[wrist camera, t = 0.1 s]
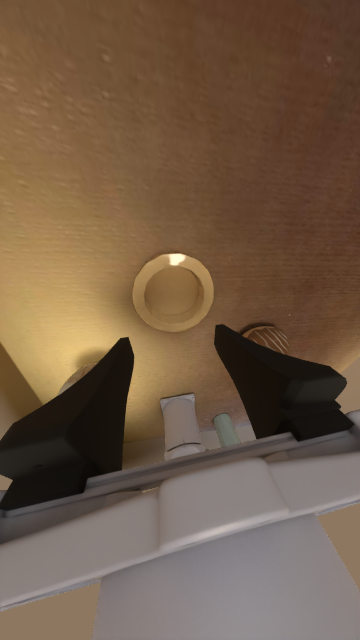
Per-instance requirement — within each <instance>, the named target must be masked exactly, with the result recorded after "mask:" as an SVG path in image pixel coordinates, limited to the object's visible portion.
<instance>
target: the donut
mask: <svg viewBox="0 0 360 640" xmlns="http://www.w3.org/2000/svg"><path fill="white" fill-rule="evenodd" d="M242 336H244V337H246V338H248V339H249V340H251V341H253V342H255V343H257V344H260V345H262V346H264V347H266V348H269V349H271V350H274V351H277V352H279V353H282V354H285V355H287V354H288V349H289V342H288V339H287V337H286V335H285V333H284V332H283V331H282V330H280V329H278V328H274V327H270V326H261V327H256V328H253V329H251V330H249V331H247V332H245V333H244V334H243V335H242Z"/></svg>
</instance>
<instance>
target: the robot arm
mask: <svg viewBox="0 0 360 640" xmlns="http://www.w3.org/2000/svg"><path fill="white" fill-rule="evenodd" d="M214 345H215V348H216V350H217V352H218V355H219V357H220V358H221V360H222V362H223V364H224V365H225V367H226V369H227V371H228V372H229V374H230V376H231V378H232V380H233V381H234V384H235V386H236V388H237V390H238V393H239V395H240V397H241V400H242V402H243V404H244V407H245V410H246V412H247V415H248V417H249V420H250V422H251V425H252V428H253V431H254V433H255V436H256V439H257V440H253V441H248V442H244V443H239V444H235V445H230V446H226V447H222V448H217V449H213V450H208V449H207V450H205V445H204V444H202V440H201V436H200V431H199V427H198V423H197V418H196V414H195V395H194V394H187V395H182V396H176V397H171V398H165V399H161V400H160V404H161V408H162V413H163V417H164V426H165V445H166V452H165V459H163V460H161V462H156V463H152V464H148V465H143V466H139V467H135V468H130V469H126V470H122V454H123V438H124V425H125V413H126V404H127V397H128V392H129V387H130V382H131V377H132V372H133V367H134V354H133V350H132V347H131V344H130V340H129V337H125V338H120V339H119V340H118V342H117V343H116V344H115V345H114V346H113V347H112V348H111V350H110V351H109V352H108V353H107V354H106V355H105V356H104V357H103V358H102V359H101V360H100V361H99V362H98V363H97V364H96V365H95V366H94V367H93V368H92V369H91V370H90V371H89V372H88V373H87V374H85V375H84V376H83V377H82V378H81V379H79V380H78V381H77V382H76V383H74V384H73V385H72V386H70V387H69V388H68V389H66V390H65V391H64V392H62V393H61V394H59V395H58V396H57V397H55V398H54V399H52V400H51V401H49V402H48V403H46V404H45V405H43V406H42V407H40V408H38V409H37V410H35V411H33V412H32V413H30V414H28V415H27V416H25V417H23V418H22V419H20V420H19V421H17V422H15V423H13V424H12V426H11V427H10V428H9V430H8V431H7V432H6V434H5V435H4V436H3V438H2V439H1V440H0V474H1V475H3V476H5V477H8V478H10V479H12V480H13V481H12V483H11V485H10V486H9V488H8V490H0V611H2V610H6V609H10V608H13V607H16V606H20V605H23V604H27V603H30V602H33V601H37V600H40V599H43V598H47V597H50V596H54V595H57V594H61V593H64V592H67V591H71V590H74V589H78V588H81V587H85V586H88V585H91V584H95V583H98V582H101V583H100V590H99V597H98V602H97V609H96V615H95V621H94V628H93V634H92V640H360V591H359V589H358V587H357V586H356V584H355V582H354V580H353V579H352V577H351V575H350V574H349V572H348V570H347V568H346V567H345V565H344V563H343V561H342V560H341V558H340V556H339V554H338V553H337V551H336V549H335V548H334V546H333V544H332V543H331V541H330V539H329V537H328V536H327V534H326V532H325V530H324V529H323V527H322V525H321V523H320V522H319V520H318V519H317V517H316V516H319V515H322V514H325V513H329V512H332V511H335V510H339V509H342V508H345V507H348V506H351V505H355V504H358V503H360V410H355V411H351V412H348V413H346V414H343V413H342V412H341V411H340V410H339V409H340V408H341V406H340V405H339V404H338V403H337V402H336V401H335V399H336V398H337V397H338V395H340V393H341V392H342V391H343V390H344V388H345V387H346V384H347V381H346V378H344V377H343V376H342V375H340V374H339V373H338V372H336V371H335V370H334V369H332V368H331V367H330V366H327V365H322V364H318V363H314V362H309V361H305V360H302V359H298V358H295V357H291V356H288V355H285V354H282V353H279V352H277V351H274V350H271V349H269V348H266V347H264V346H262V345H260V344H257V343H255V342H253V341H251V340H249V339H248V338H246V337H244V336H242V335H240V334H239V333H237V332H235V331H234V330H232V329H230V328H228V327H227V326H225V325H223V324H221V325H216V328H215V340H214ZM156 487H158V488H156ZM152 488H156V489H153V490H150V491H148V492H145V493H142V491H143V490H148V489H152Z"/></svg>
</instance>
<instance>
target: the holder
mask: <svg viewBox="0 0 360 640" xmlns="http://www.w3.org/2000/svg"><path fill="white" fill-rule="evenodd" d="M213 295H214V285H213V282H212V279H211V276H210V273H209V271H208V270H207V269H206V268H205V267H204V266H203V265H202V264H201V263H200V262H199V261H198V260H197V259H195V258H193V257H191V256H188V255H185V254H183V253H180V252H164V253H160V254H158V255H156V256H154V257H152V258H151V259H149V260H147V261H146V263H145V264H144V265H143V266H142V268H141V269H140V271H139V272H138V274H137V276H136V278H135V281H134V286H133V292H132V298H133V302H134V306H135V310H136V312H137V313H138V314H139V316H140V317H141V318H142V320H143V321H144V322H145V323H147V324H148V325H150V326H152V327H153V328H155V329H157V330H162V331H167V332H176V331H184V330H186V329H188V328H190V327H192V326H194V325H196V324H198V323H199V322H200V321H201V320H202V319H203V318H204V317H205V316H206V315H207V313H208V311H209V309H210V307H211V305H212V303H213Z"/></svg>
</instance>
